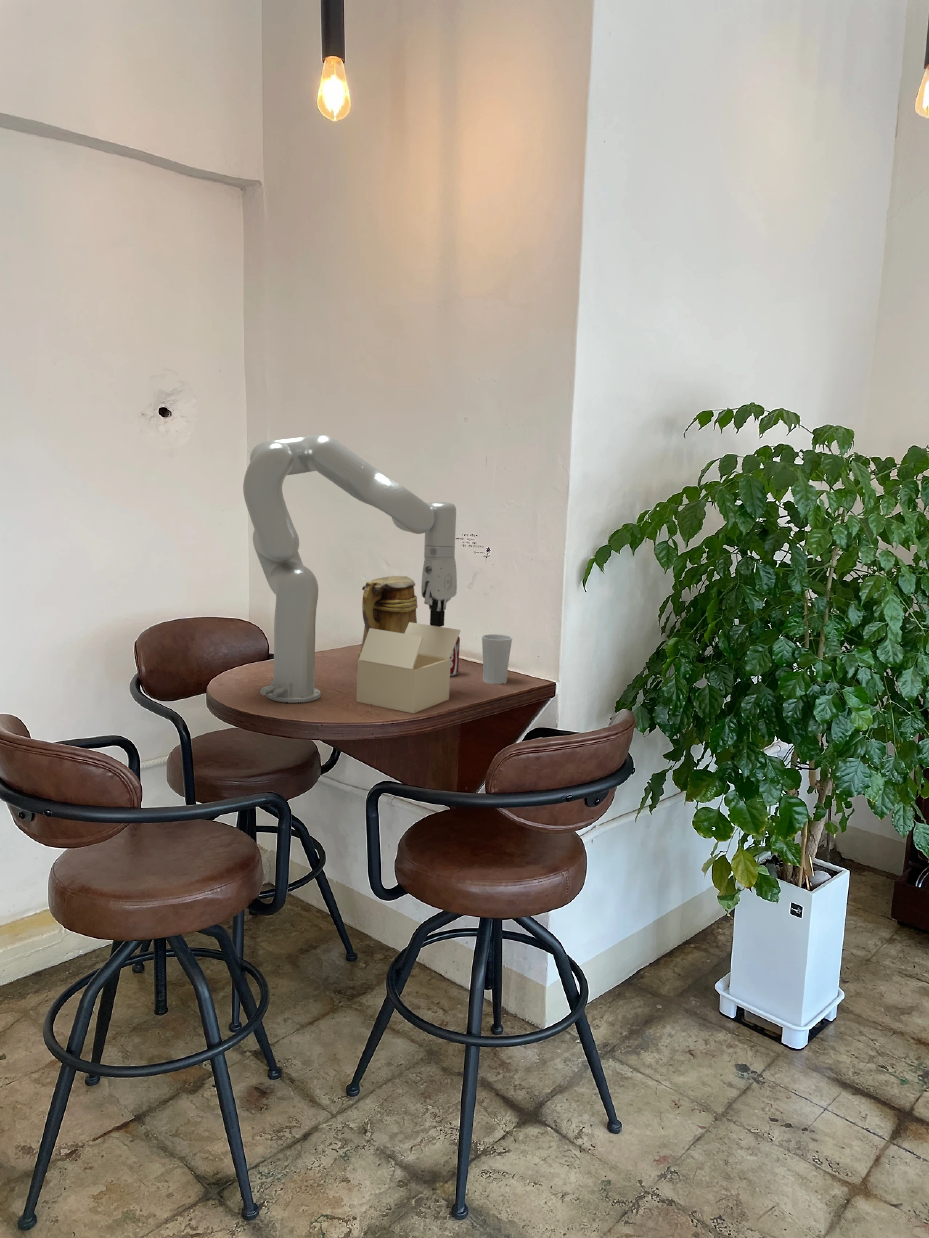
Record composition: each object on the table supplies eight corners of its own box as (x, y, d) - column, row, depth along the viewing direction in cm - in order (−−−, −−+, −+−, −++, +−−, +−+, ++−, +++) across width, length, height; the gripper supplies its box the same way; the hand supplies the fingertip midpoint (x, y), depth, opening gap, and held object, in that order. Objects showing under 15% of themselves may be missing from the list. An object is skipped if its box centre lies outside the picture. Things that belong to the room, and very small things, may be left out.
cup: (513, 684, 236) (515, 640, 234) (483, 685, 234) (486, 640, 232) (505, 677, 244) (507, 634, 242) (476, 677, 242) (478, 634, 240)
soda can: (428, 674, 244) (430, 630, 242) (444, 670, 249) (446, 628, 247) (446, 678, 239) (449, 634, 237) (463, 675, 244) (465, 631, 242)
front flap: (370, 628, 213) (369, 628, 212) (423, 637, 205) (422, 636, 205) (359, 660, 210) (358, 659, 210) (412, 669, 203) (411, 669, 203)
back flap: (459, 629, 220) (460, 630, 220) (409, 622, 227) (410, 623, 227) (448, 658, 217) (449, 659, 217) (397, 649, 224) (398, 650, 224)
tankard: (433, 664, 256) (437, 577, 251) (393, 680, 235) (397, 586, 230) (378, 656, 263) (381, 571, 259) (334, 671, 242) (337, 579, 238)
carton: (413, 713, 205) (415, 670, 203) (356, 701, 212) (357, 660, 211) (448, 699, 218) (450, 659, 217) (394, 688, 226) (395, 649, 224)
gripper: (436, 556, 213) (433, 632, 216) (467, 551, 226) (464, 623, 229) (410, 553, 217) (407, 628, 220) (442, 549, 229) (439, 620, 233)
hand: (436, 625), depth 224 cm, fingers closed
